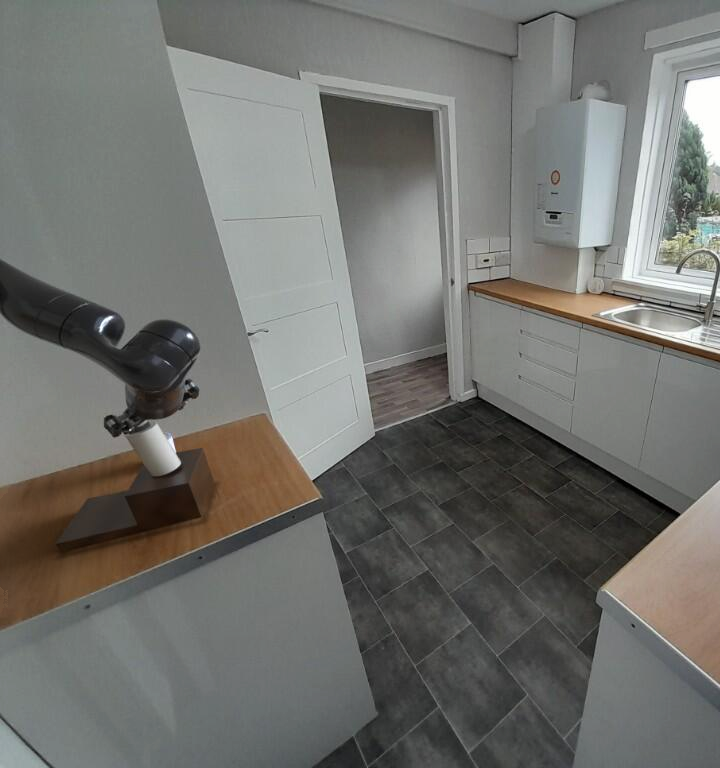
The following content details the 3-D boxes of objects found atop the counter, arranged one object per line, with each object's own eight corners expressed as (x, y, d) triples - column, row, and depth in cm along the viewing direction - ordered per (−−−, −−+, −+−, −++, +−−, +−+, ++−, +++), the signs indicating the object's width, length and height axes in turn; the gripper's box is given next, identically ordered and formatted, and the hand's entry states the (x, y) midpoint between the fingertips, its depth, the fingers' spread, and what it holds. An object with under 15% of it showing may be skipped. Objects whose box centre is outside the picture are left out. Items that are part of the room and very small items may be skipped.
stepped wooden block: (61, 556, 76) (37, 514, 72) (93, 509, 88) (73, 471, 84) (203, 521, 85) (188, 482, 81) (214, 483, 97) (202, 447, 92)
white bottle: (147, 479, 82) (113, 430, 76) (155, 465, 86) (123, 418, 80) (177, 470, 83) (147, 421, 78) (183, 457, 88) (155, 409, 82)
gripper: (185, 355, 73) (179, 384, 85) (87, 395, 63) (95, 422, 75) (214, 388, 74) (204, 413, 86) (121, 433, 64) (124, 454, 76)
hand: (153, 417), depth 80 cm, fingers open, 8 cm apart
